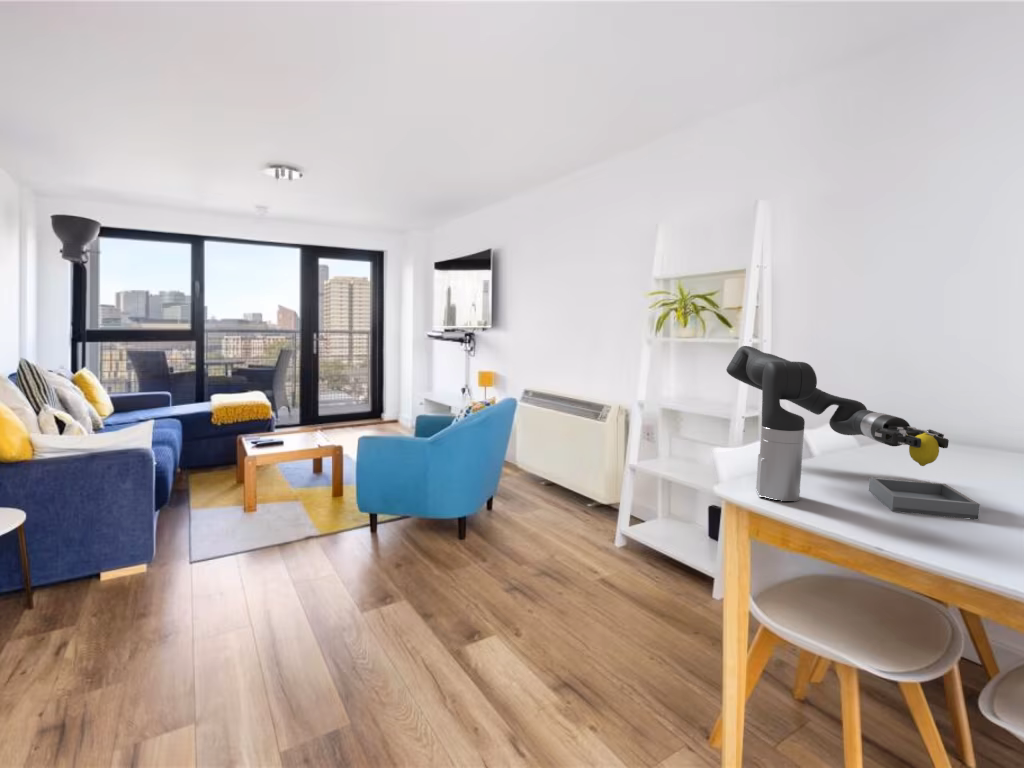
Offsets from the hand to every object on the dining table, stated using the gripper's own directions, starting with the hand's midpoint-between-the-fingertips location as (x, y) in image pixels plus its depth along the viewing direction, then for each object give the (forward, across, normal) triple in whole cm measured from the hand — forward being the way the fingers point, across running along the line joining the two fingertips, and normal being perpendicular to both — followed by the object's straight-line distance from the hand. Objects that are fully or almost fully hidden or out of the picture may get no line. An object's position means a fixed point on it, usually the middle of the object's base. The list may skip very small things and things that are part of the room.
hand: (932, 443), depth 120 cm
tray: (-2, 0, +15) cm, 15 cm away
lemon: (-3, 0, +6) cm, 7 cm away
